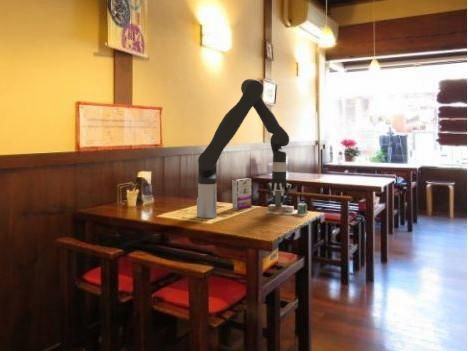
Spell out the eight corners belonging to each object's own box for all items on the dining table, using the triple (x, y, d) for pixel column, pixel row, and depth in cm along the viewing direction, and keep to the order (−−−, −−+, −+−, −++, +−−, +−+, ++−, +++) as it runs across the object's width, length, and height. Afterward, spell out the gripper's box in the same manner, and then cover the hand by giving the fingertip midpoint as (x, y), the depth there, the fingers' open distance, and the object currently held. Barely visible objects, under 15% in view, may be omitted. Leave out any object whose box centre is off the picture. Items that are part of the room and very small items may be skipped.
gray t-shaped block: (268, 209, 217) (269, 190, 216) (270, 208, 220) (270, 189, 219) (292, 211, 213) (292, 191, 212) (293, 210, 215) (294, 191, 214)
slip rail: (266, 213, 214) (266, 203, 214) (271, 210, 223) (271, 200, 223) (304, 216, 207) (304, 206, 207) (307, 212, 216) (308, 202, 216)
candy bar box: (246, 205, 236) (246, 178, 234) (251, 206, 233) (252, 178, 231) (231, 208, 229) (231, 179, 227) (237, 209, 225) (237, 180, 223)
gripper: (264, 170, 213) (264, 202, 215) (290, 171, 209) (289, 204, 210) (268, 169, 220) (268, 200, 222) (293, 170, 216) (293, 202, 217)
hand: (278, 202), depth 216 cm, fingers closed on gray t-shaped block, 3 cm apart
